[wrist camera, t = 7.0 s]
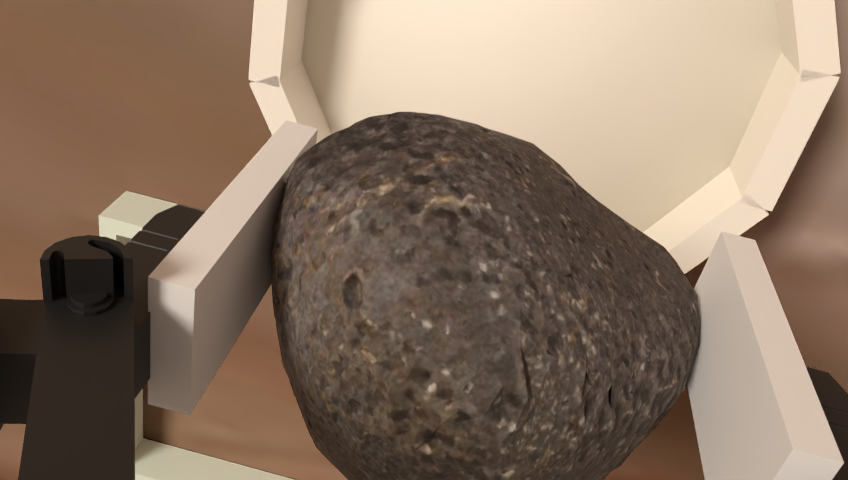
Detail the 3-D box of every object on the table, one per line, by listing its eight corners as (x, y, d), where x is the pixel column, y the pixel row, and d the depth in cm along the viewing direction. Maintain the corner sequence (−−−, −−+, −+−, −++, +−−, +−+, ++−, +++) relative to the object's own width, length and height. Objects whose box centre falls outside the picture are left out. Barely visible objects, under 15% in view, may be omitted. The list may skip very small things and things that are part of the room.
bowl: (264, 204, 36) (236, 242, 33) (313, -315, 25) (279, -329, 22) (684, 313, 35) (695, 362, 32) (918, -177, 24) (966, -173, 21)
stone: (588, 345, 24) (884, 370, 14) (389, 551, 21) (597, 746, 12) (396, 87, 22) (590, -72, 13) (152, 273, 19) (174, 243, 10)
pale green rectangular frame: (130, 443, 46) (108, 475, 44) (126, 190, 36) (98, 215, 34) (512, 548, 45) (509, 586, 43) (607, 315, 35) (609, 349, 33)
